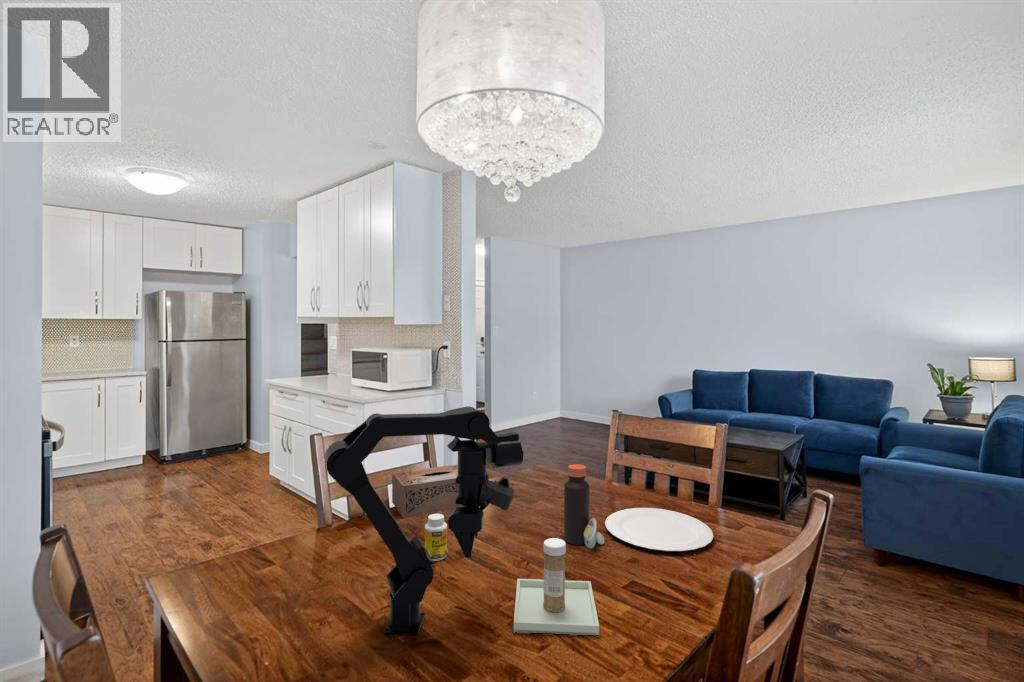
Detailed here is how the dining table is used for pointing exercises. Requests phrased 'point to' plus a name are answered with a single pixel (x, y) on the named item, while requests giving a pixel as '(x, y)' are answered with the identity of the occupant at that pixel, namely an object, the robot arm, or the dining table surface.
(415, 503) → the tissue box cover
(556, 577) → the spice jar
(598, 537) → the pacifier
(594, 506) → the dining table surface
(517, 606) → the tray
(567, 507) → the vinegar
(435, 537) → the supplement bottle
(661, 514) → the plate
